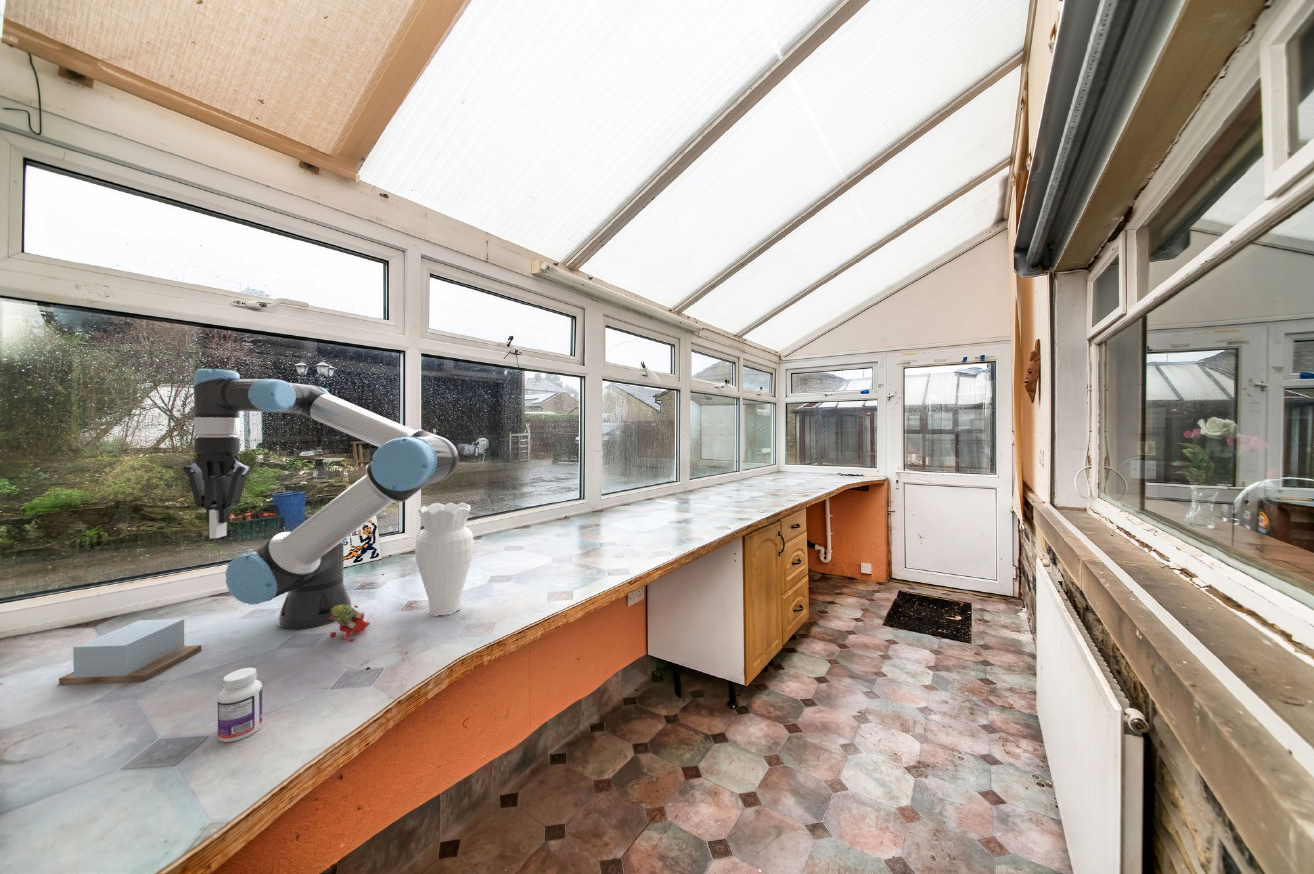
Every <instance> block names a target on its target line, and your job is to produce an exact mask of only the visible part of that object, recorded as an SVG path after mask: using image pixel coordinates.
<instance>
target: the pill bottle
mask: <svg viewBox="0 0 1314 874" xmlns="http://www.w3.org/2000/svg"><path fill="white" fill-rule="evenodd" d="M257 676H258V675H257V668H255V667H244V668H240V669H236V670H234V671H232V672H230V673H227V674H226V675H224V677H223V679H222V683H223V684H222V686H223V689H222V690H221V691H220V692H219V693H218V695H217V740H218V741H220V742H222V743H230V742H231V743H232V742H236V741H240V740H242V739H245V738H247V737H249V736H251V735H253V734H254V733H256V732H257V731H258V730H260V728H261V727H262V725H263V683H262V682H261V681H260V680H259V679H257Z"/></svg>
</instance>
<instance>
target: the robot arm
mask: <svg viewBox="0 0 1314 874" xmlns="http://www.w3.org/2000/svg"><path fill="white" fill-rule="evenodd" d="M193 379H194V380H193V385H192V389H193V406H194V407H193V410H194V415H193V416H194V417H193V419H194V420H193V422H194V424H193V425H194V426H193V434H194V435H195V436H197V437H195V438H194V440H193V442H194V443H193V444H194V449H193V451H194V453H195V454H196V458H195V460H194V463H192V464H190V465H186V466H183V468H182V469H183V472H184V473H185V474H186V476H187V478H188V481H189V486H190V488H191V492H192V496H193V500H194V503H195V506H196V507H197V508H202V509H204V510H205V511H206V512H205V514H206V515H205V517H206V518H205V519H206V520H205V521H206V524H208V525H209V535H208V536H209V539H219V538H222V537H226V536H227V535H228V534H227V531H228V529H227V525H228V523H229V522H230V509H231V508H233V507H235V506H239V505H240V503H241V499H242V496H243V490H244V488H245V483H246V480H247V476H248V474H249V473H250V472H251V471H252V467H251V465H245V464H243V463H242V462H241V460H240V457H239V452H240V451H241V449H240V448H241V445H240V444H241V441H240V440H241V439H240V438H239V437H238V436H239V435H240V434H241V433H240V417H241V415H240V412H262V413H263V412H264V413H265V412H266V413H287V414H288V413H289V414H299V415H302V416H305V417H307V418H309V419H312V420H315V421H317V422H319V423H321V424H324V425H327V426H328V427H331V428H333V429H334V430H335V429H336V430H338V431H340V432H342V433H345V434H348V435H350V436H351V437H354V438H357V439H359V440H361V441H363V442H365V443H368V444H370V445H373V446H375V447H378V448H377V449H376V450H375V452H374V454H373V455H372V461H370V462H369V463H368V464H367V465H366V466H365V473H366V474H365V475H364V476H362V477H361V478H360V479H358V480H357V481H355V482H354V483H353V484H352V485H351V486H349V487H348V488H346V489H345V490H344V491H343V492H341V493H340V494H339V495H337V496H336V497H334V499H332V500H331V501H329V502H328V503H327V504H326V505H324V506H323V507H322V508H320V510H318V511H316V513H314V514H313V515H311V516H310V517H309V518H307V519H306V520H305V521H303V522H302V523H301V524H300V525H298V526H297V527H296V528H295V529H293V530H292V531H284V532H283V531H282V532H280V533H279V532H278V533H277V534H275V535H274V536H272V538H270V539H269V540H267V541H266V542H265V543H263V544H262V545H261V546H260V547H257V548H256V549H255V550H253V551H251V552H244V553H241V554H240V555H238V556H236V557H235V558H233V559H232V560H231V561H230V562H229V563H228V565H227V566H226V570H225V584H226V587H227V589H228V591H229V593H230V594H231V595H232V597H234V598H235V599H236V600H237V601H239V602H241V603H243V604H248V605H259V604H262V603H266V602H270V601H272V600H273V599H275V598H277V597H280V596H281V595H284V594H286V593H287V595H286V597H285V599H284V602H283V605H282V607H281V609H280V613H279V614H278V615H279V616H278V626H279V627H281V628H284V629H291V630H292V629H294V630H295V629H296V630H298V629H307V628H308V629H309V628H313V627H318V626H322V625H327V624H330V623H333V622H337V621H336V620H333V619H330V617H331V616H332V613H331V609H332V608H333V607H335V606H337V605H342V604H344V605H349V606H350V607H352V601H351V598H350V596H349V594H348V591H347V588H346V587H345V584H344V546H345V542H344V540H345V539H347V538H348V537H349V536H351V535H352V534H353V533H355V532H356V531H358V530H359V529H360V528H361V527H362V526H364V525H366V523H367V522H368V523H369V521H370V520H371V519H373V518H374V517H376V516H377V515H378V514H379V513H381V512H382V511H383V510H385V509H386V508H387V507H389V506H391V504H392V503H394V502H396V503H402V502H406V501H408V500H409V499H410V498H411V497H412V496H413V495H415V494H417V493H418V492H419V491H420V490H422V489H423V488H424V487H426V486H428V485H430V484H434V483H438V482H442V481H444V480H446V479H448V478H449V477H450V476H452V475H453V473H455V471H456V469H457V468H458V465H459V453H458V450H457V448H456V446H455V445H454V443H452V442H451V441H450V440H448V439H447V438H446V437H442V436H439V435H436V434H434V433H432V432H429V431H427V430H424V429H417V430H414V429H412V428H411V427H408V426H405V425H404V424H403V425H402V424H400V423H398V422H396V421H393V420H391V419H388V418H386V417H383V416H381V415H379V414H377V413H374V412H373V411H370V410H368V409H365V408H363V407H360V406H358V405H356V404H353V403H351V402H349V401H346V400H344V399H342V398H339V397H337V396H335V395H332V394H331V393H330V392H329V390H328V389H326V388H324V387H321V386H318V385H313V384H302V383H294V382H287V381H286V380H282V379H274V378H260V379H259V378H251V379H250V378H240V373H238V372H237V371H235V370H228V369H220V368H219V369H217V368H215V369H214V368H212V369H211V368H199V369H197V370H196V371H195V373H194V378H193ZM237 435H238V436H237Z"/></svg>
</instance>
